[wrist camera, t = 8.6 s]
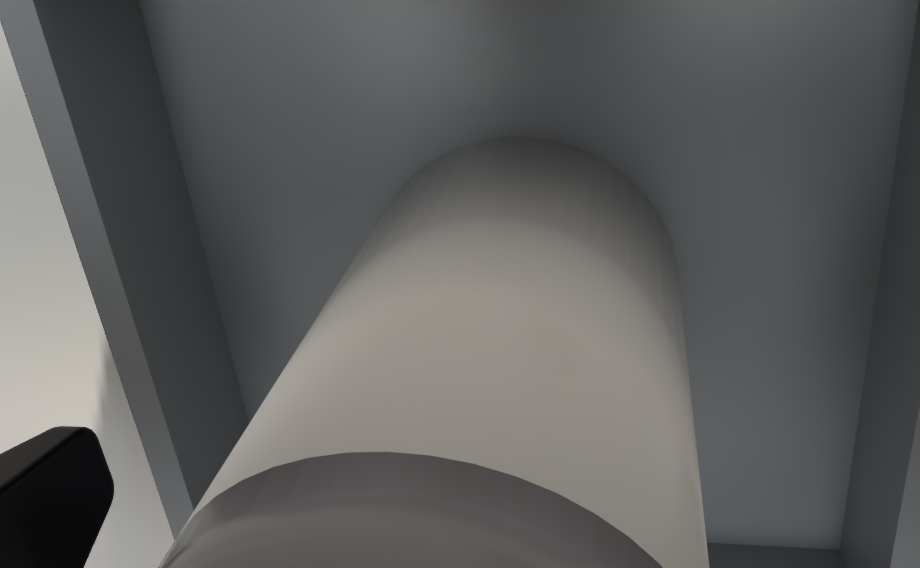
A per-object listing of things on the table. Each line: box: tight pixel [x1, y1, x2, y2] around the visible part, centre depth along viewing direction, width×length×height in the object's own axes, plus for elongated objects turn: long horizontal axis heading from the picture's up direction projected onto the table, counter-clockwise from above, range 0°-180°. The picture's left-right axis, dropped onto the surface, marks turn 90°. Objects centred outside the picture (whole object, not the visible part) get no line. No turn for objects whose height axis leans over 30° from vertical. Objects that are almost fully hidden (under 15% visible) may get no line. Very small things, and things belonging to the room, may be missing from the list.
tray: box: [0, 0, 920, 568], centre depth 12 cm, size 11×11×3 cm
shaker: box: [158, 137, 709, 568], centre depth 9 cm, size 5×5×8 cm
